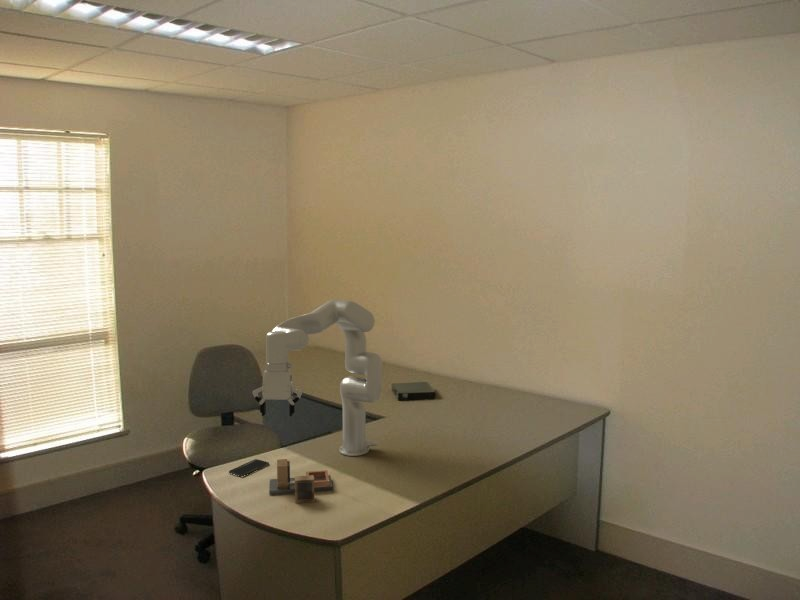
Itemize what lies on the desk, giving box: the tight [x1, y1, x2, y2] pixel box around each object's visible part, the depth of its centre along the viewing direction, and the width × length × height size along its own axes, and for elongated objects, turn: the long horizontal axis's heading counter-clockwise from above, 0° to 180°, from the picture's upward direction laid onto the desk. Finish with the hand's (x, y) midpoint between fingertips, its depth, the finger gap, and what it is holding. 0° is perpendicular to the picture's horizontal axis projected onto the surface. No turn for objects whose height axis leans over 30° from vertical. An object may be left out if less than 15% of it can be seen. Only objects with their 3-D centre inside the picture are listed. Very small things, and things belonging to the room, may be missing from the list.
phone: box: [228, 458, 270, 476], centre depth 240 cm, size 8×1×15 cm
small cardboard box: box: [294, 475, 315, 504], centre depth 213 cm, size 6×4×8 cm
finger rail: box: [268, 458, 333, 496], centre depth 224 cm, size 22×10×10 cm, turn 101°
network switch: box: [391, 381, 437, 402], centre depth 344 cm, size 23×24×5 cm
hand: (277, 415), depth 217 cm, fingers open, 9 cm apart
